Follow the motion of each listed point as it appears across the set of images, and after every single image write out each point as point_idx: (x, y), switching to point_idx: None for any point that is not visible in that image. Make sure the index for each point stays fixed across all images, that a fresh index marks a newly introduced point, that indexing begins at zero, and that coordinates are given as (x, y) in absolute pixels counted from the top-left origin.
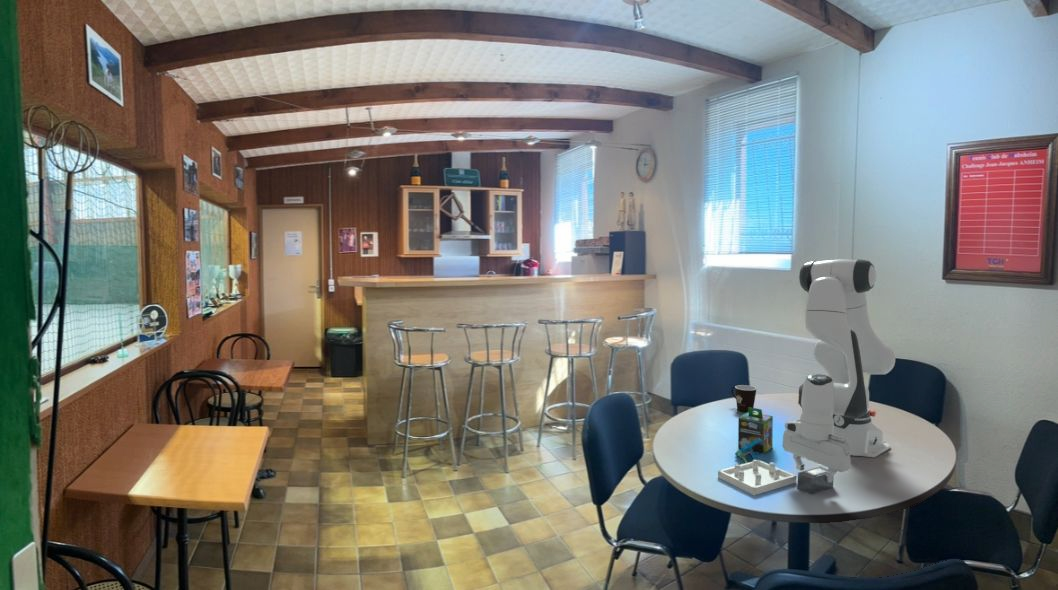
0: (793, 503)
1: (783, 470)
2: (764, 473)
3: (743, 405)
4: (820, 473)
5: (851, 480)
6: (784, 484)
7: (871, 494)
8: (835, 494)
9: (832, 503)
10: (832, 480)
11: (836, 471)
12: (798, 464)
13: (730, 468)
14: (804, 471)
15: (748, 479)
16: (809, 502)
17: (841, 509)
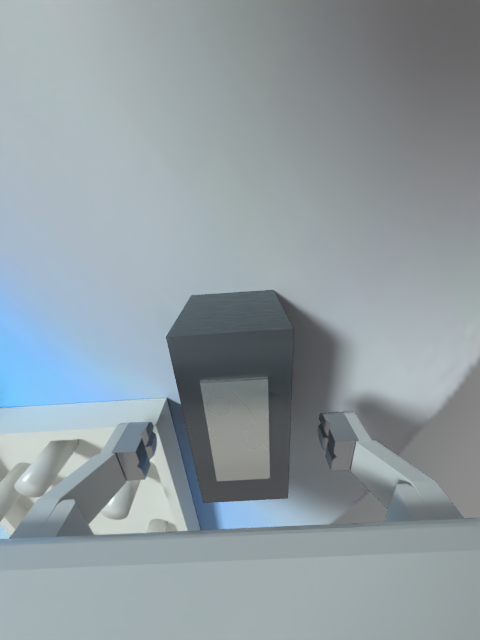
0: (290, 497)
1: (80, 430)
2: (71, 465)
3: None
4: (268, 429)
5: (261, 53)
6: (177, 456)
7: (457, 160)
8: (328, 345)
9: (365, 414)
10: (355, 417)
11: (432, 489)
12: (128, 480)
13: None
14: (201, 471)
15: (113, 524)
16: (312, 463)
17: (409, 422)
